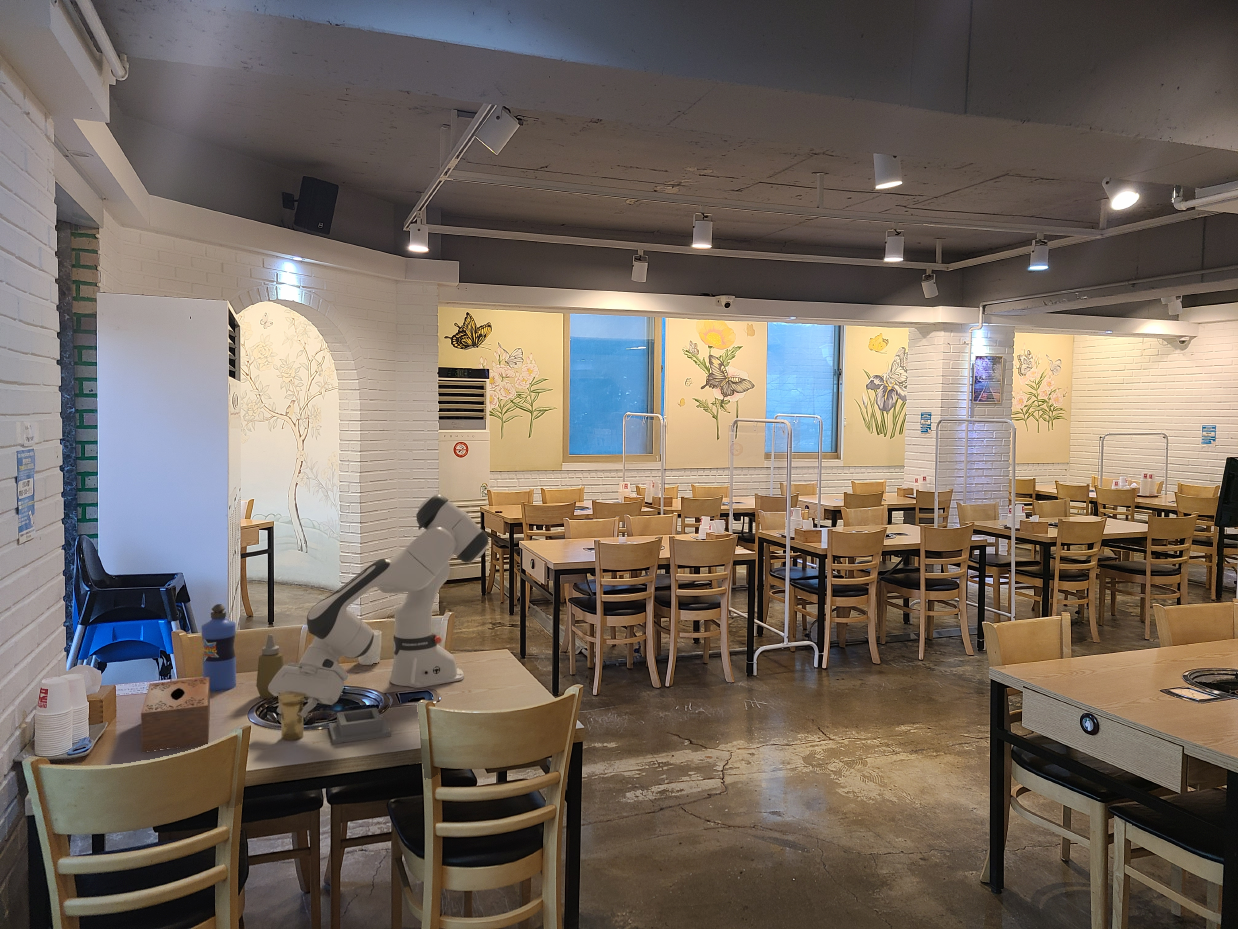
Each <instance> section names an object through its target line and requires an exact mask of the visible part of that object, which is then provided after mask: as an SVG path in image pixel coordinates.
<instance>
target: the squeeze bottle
mask: <svg viewBox="0 0 1238 929" xmlns="http://www.w3.org/2000/svg"><path fill="white" fill-rule="evenodd" d="M283 656H284V655H283V654H282V653H280V646H279V645H276V642H275V639H274V636H273V634H268V635H267V640H266V644H265V646H263V647H262V648H261V655H259V656H258V662H257V664H258V665H257V674H256V675H257V676H256V685H255V686H256V688H257V691H258V694H259V697H260V698H261V699H273V698H272V697H276V698H278V697H277V696H274V695H273V694H271V693H270V692H269V691H268V685H269V684H270V682H271V681H272V679H273V678H274V676H275V675H276V674H277V672H278V671H279V670H280V669H281V668H282V666H283V665H285V664H284V658H283Z"/></svg>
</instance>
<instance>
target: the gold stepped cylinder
mask: <svg viewBox="0 0 1238 929" xmlns="http://www.w3.org/2000/svg"><path fill="white" fill-rule="evenodd" d="M277 698H278V703H281V714H280V717H281V718H280V722H281V724H280V725H281V727H280V729H281V733H280V734H281V740H283V741H286V742H287V741H289V742H290V741H291V742H292V741H297V740H300V739H302V738H303V737H304V717H300V716H299V715H298V714H297V713H298V711H299V709H300V708H303V707H304V702H305V701H304V700H305V693H300V692H293V691H286V692H283V693H280V694H279V695H278V697H277Z"/></svg>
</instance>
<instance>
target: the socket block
mask: <svg viewBox="0 0 1238 929" xmlns="http://www.w3.org/2000/svg"><path fill="white" fill-rule="evenodd" d="M328 730H329V731H328V732H329V734H330V738H331V740H332V741H333V742H332V741H331V742H332V745H336V744H335V743H338V744H344V743H343V742H345V743H351V741H352V742H357V741H358V742H359V741H366V740H371V739H379V738H386V737H387V738H388V737H392V735H391V734H392V731H391V729H390V726H389V725H388V722H387V720H386V719H385V717H384V716H381V714H380V713H379V711H378V708H377V707H370V708H363V709H362V708H361V709H354V710H347V711H346V710H345V711H340V712H336V722H333V723H332V722H331V723H328Z"/></svg>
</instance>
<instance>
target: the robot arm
mask: <svg viewBox="0 0 1238 929" xmlns="http://www.w3.org/2000/svg"><path fill="white" fill-rule="evenodd" d="M415 515H416V522H417V524H418V530H421V529H424V530H425V531H423V532H422V533H421V534H420V535H418V536H417V537H416V538H415V539H413V541H411V542H410V543H409V545H407V547H405V548H404V549H402V550H401V551H399V552H398V553H396V554H395V555H393V556H391V557H389V558H380V559H378V560H376V561H374V562H373V563H372V564H370V565H368V566H367V567H366V568H364V569H363V570H362V571H360V572H358V574H356V575H355V576H354V577H353V578H351V579H350V580H349V581H347V582H346V583H345V584H344V585H342V586H341V587H340V588H338V589H337V590H336V591H334V592H333V593H332V594H330V595H328V596H326V597H325V598H323V599H322V600H319V601H318V602H317V603H316V604H314V605H313V606H312V607H311V608H310V610H309V612H308V614H307V616H306V626H307V627H306V628H307V631H308V632H309V634H311V635H312V636H313V640H312V642H311V644H310V645H309V646H308V647H307V648H306V650H305V651H304V653H303V655H302V657H301V659H300V660H299V662H297V663H296V662H290V661H289V662H288V663H286V664H284V665H283V666H282V668H281V669H280V670H279V671H278V672H277V674H276V675H275V676H274V678H273V679H272V681H271V682H270V684H269V685H268V691H269V692H270V693H271V694H273V695H274V696H278V695H279V694H280V693H283V692H286V691H293V692H300V693H305V700H304V701H303V702H307V703H306V704H305V705H303V708H300V709H299V711H298V713H297V714H298V715H299V716H300V717H303V718H307V717H306V716H307V715H308V713H309V712H310V711H311V710H313V709H314V708H315V707H316V706H317V704H318V703H319V704H324V705H330V706H332V705H334V704H335V703H336V702H337V701H338V700H339V698H340V696H341V694H342V692H343V690H344V686H345V682H346V680H347V679H348V678H349V674H348V672H347V671H346V670H345V669H344V668H343V667H342V665H340V664H339V660H340V659H341V657H343V658H347V659H359V657H361V656H363V655H365V654H366V653H367V652H368V650H369V649H370V647H371V645H372V643H373V639H374V632H373V630H374V629H373V628H372V627H371V626H369V624H367V623H366V622H364V620H362V619H361V618H360V617H358V616H356V615H355V613H353V612H352V611H351V610H349V609H347V608H348V607H349V606H350V605H351V604H353V603H355V601H357V600H358V599H359V598H361V597H362V596H363V595H365V594H366V593H367V592H368V591H370V590H371V589H373V588H377V589H378V590H379V591H380V592H381V593H383V594H393V595H394V594H397V595H398V594H403V593H407V594H406V596H405V598H404V599H403V601H402V602H401V603H400V604H399V605H398V606H397V607H396V609H395V611H394V635H393V639H392V650H393V651H392V652H393V656H394V657H393V664H392V670H391V675H390V677H389V682H390V683H391V684H393V685H396V686H401V687H403V686H404V687H411V688H414V689H417V688H418V689H420V688H424V687H431V686H437V685H441V684H446V683H447V684H448V683H452V682H453V683H454V682H458V681H462V680H464V678H465V674H464V672H463V670H462V669H461V668H459V667H457V663H456V659H455V657H454V655H453V654H452V653H450V652H449V651H448V650H446V649H445V648H443V647H442V646H440V645H439V644H441V643H442V640H443V639H442V637H440V636H439V635H437V634H435V633H434V632H432V619H433V618H432V616H433V607H434V603H435V600H436V596H437V594H438V593H439V590H441V587H442V586H443V585H444V584H445V583H446V582H447V580H448V579H449V577H450V574H451V565H450V563H449V561H450V560H451V559H452V558H453V557H454V556H456V559H457V560H459V561H462V562H463V563H465V564H466V563H472V562H473V561H476V560H477V559H479V558H480V557H482V556H483V554H484V553H485V552H486V549H487V547H488V544H489V537H488V535H487V533H486V532H485V530H484V529H481V527H479V525H478V524H477V523H476V522H475V521H474V520H473V519H472V518H471V516H470V515H469V513H467V512H466V511H465V510H462V509H460V507H458V506H457V505H455V504H454V503H452V502H450V500H449V499H448V498H447V497H445V496H443V495H441V494H440V493H439V494H434V495H433V496H430V497H427V498H426V499H425V500H424V501H423V502H422V503H421V504H420V506H419V507H418V510H417V513H416V514H415ZM278 703H279V702H278ZM276 713H279V714H280V715H281V703H279V705H278V707H277V709H276Z"/></svg>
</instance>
